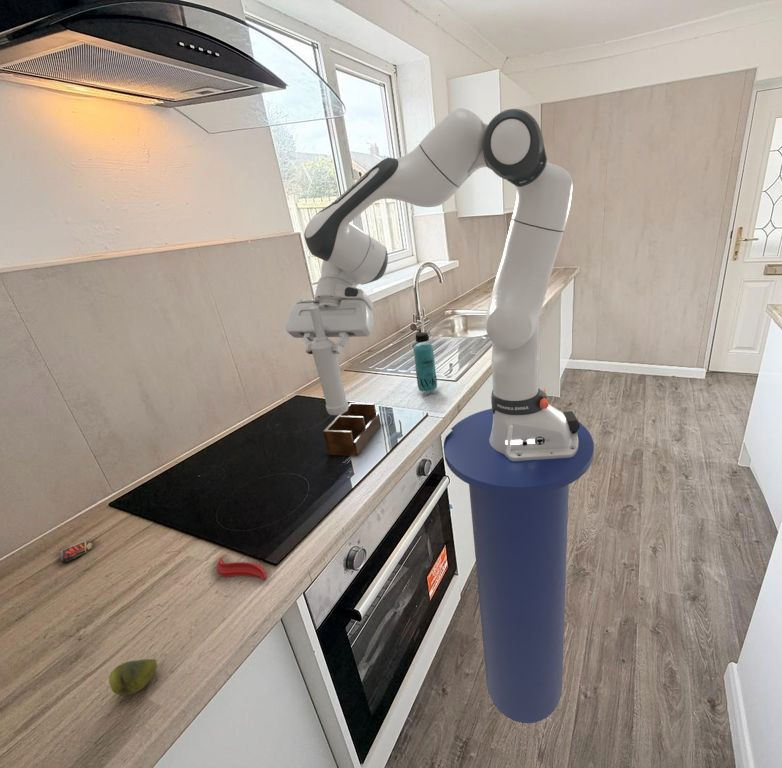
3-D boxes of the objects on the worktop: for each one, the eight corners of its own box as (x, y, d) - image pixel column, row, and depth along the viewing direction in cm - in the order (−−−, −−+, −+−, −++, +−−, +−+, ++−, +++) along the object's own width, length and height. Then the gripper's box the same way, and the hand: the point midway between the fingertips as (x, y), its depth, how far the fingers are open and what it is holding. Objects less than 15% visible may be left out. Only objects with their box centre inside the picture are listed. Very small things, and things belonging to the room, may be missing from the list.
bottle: (353, 408, 99) (331, 305, 89) (336, 417, 95) (311, 311, 85) (339, 403, 102) (316, 303, 92) (322, 412, 98) (296, 309, 88)
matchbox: (65, 564, 78) (64, 563, 77) (56, 554, 80) (55, 552, 80) (95, 548, 81) (94, 546, 81) (86, 538, 84) (85, 536, 84)
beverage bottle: (414, 392, 136) (406, 334, 128) (430, 385, 140) (423, 329, 132) (426, 398, 132) (418, 338, 123) (442, 391, 135) (436, 332, 127)
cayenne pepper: (209, 567, 74) (205, 559, 74) (233, 549, 78) (230, 542, 77) (247, 594, 68) (244, 586, 68) (272, 574, 72) (269, 566, 71)
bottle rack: (381, 425, 118) (377, 403, 115) (358, 456, 104) (353, 432, 101) (354, 424, 119) (350, 402, 117) (328, 454, 106) (322, 431, 103)
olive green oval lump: (113, 693, 56) (97, 670, 53) (152, 661, 59) (138, 638, 57) (128, 711, 53) (111, 688, 51) (168, 676, 57) (154, 653, 55)
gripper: (287, 293, 96) (273, 347, 91) (369, 289, 91) (358, 346, 87) (302, 307, 102) (290, 358, 97) (379, 304, 97) (370, 358, 93)
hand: (323, 353), depth 92 cm, fingers closed on bottle, 5 cm apart
